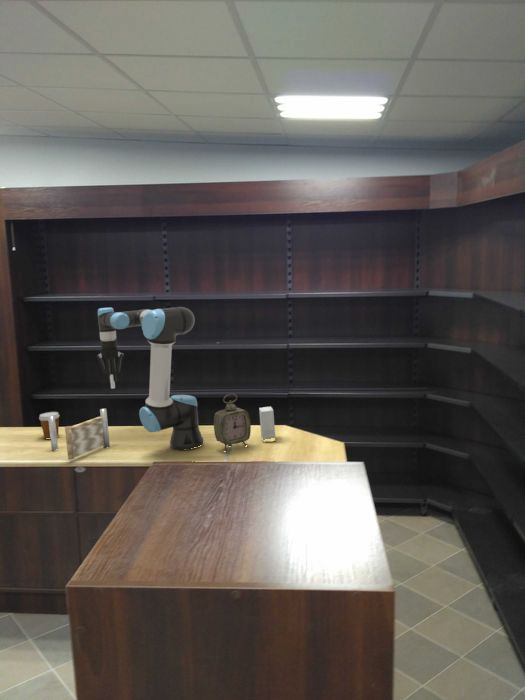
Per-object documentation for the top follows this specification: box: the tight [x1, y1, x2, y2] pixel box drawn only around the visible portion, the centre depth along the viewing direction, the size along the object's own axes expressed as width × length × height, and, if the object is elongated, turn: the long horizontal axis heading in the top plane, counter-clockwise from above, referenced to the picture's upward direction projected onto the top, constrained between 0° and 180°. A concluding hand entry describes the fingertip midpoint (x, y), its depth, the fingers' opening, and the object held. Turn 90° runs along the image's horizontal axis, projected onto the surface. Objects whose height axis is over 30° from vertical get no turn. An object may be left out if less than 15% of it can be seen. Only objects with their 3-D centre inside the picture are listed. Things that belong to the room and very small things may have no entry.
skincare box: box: [258, 406, 276, 441], centre depth 250 cm, size 8×6×15 cm
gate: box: [64, 416, 104, 460], centre depth 240 cm, size 20×2×14 cm, turn 150°
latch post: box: [48, 416, 59, 451], centre depth 249 cm, size 3×3×16 cm
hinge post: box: [99, 407, 111, 449], centre depth 250 cm, size 3×3×18 cm
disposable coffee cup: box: [38, 411, 60, 439], centre depth 269 cm, size 10×10×12 cm
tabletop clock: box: [213, 393, 252, 452], centre depth 240 cm, size 14×9×25 cm, turn 123°
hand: (113, 387), depth 265 cm, fingers closed
